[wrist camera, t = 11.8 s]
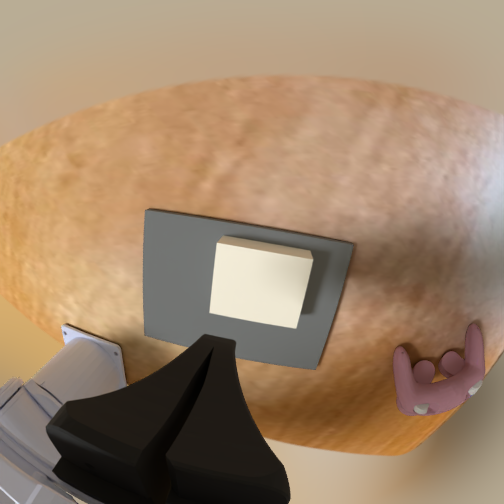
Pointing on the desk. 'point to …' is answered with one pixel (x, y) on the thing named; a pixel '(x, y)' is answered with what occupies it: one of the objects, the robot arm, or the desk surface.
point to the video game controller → (443, 392)
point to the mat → (200, 286)
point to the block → (259, 281)
